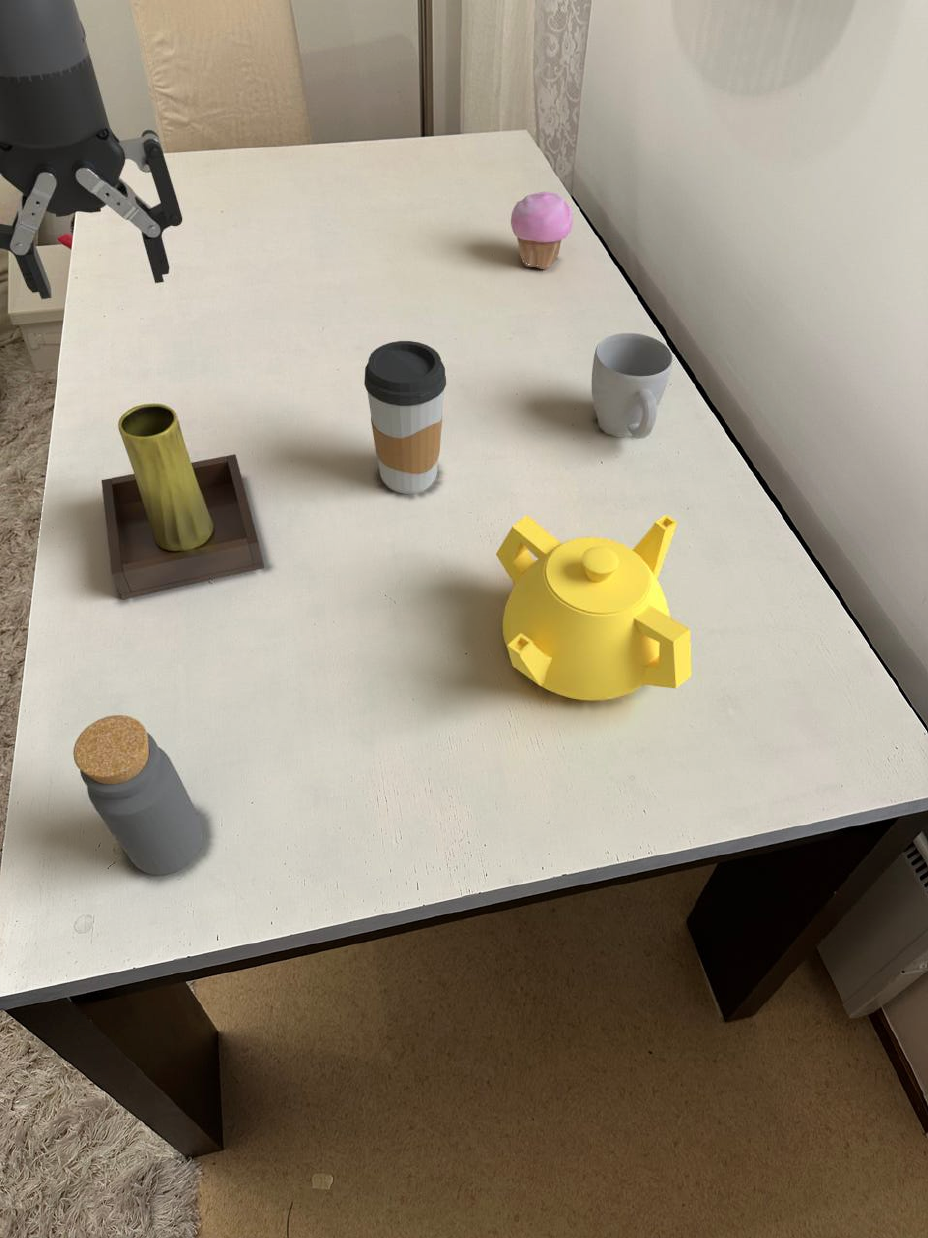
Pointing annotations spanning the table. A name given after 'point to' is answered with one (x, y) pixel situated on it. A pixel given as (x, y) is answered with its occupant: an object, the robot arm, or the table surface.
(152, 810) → the bottle
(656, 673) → the teapot
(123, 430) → the vase
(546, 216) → the cupcake
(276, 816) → the table surface
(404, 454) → the coffee cup
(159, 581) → the tray
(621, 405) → the mug
